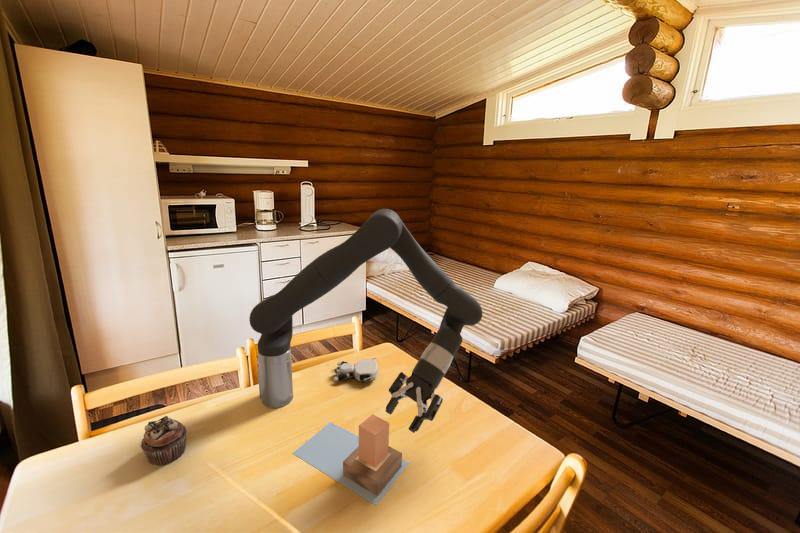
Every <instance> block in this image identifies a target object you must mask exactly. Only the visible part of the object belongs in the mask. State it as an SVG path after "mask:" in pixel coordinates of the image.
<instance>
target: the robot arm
mask: <svg viewBox="0 0 800 533" xmlns="http://www.w3.org/2000/svg"><path fill="white" fill-rule="evenodd" d="M389 249H391V250H392V251H393V252H395V254H396V255H398V256H399V258H400V259H401V260H402V261H403V262H404V265H406V267H407V268H408V269H409V271H410V272H411V274H412V275H413V278H414V279H415V280H416V281H417V283H418V284H419V286H421V287H422V288H423V289H424V291H425V292H426V293H427V294H428V295H429V296H430V297H431V298H432V299H433V300H434V301H435V302H437V303H438V304H441V305H444V306H445V307H446V309H445V311H444V313H443V317H442V319H441V322H440V325H439V328H438V330H437V332H436V333H435V334H434V336H433V338H432V340H431V341H430V343H429V344H428V345H427V347H426V348H425V349H424V351H423V352H422V354H421V356H420V358H419V359H418V361H417V363H416V364H415V365H414V368H413V369H412V371H411V374H410V376H408V375H406V374H405V373H404V372H402V371H401V372H400V373H398V375H397V376H396V378H395V379H394V381H393V382H392V384H391V386H390V387H389V388H388V392H389V393H390V395H391V398H390V400H389V401H388V403H387V405H386V406H385V412H386V413H387V414H389V415H390V416H391V415H392V414H393V413H394V411H395V409H396V407H397V406H398V404H399V403H400V402H399V401H401V400H403V399H404V398H405V399H406V398H409V399H410V400H412V401H414V402H416V406H417V414H416V415H414V418H413V420H412V422H411V423H410V425H409V426H408V430H409V431H410V432H412V433H413V434H415V433H416V432H418V431H419V429H420V428H421V426H422V424H423V422H424V421H425V420H427V421H430V422H432V421H433V420H434V419H435V417H436V415H437V413H438V411H439V409H440V407H441V406H442V404H443V401H444V399H443V397H441V395H439V394H437V393H436V394H435V391H436V389H437V388H438V387H439V385H440V384H441V382H442V380H443V378H444V376H446V373H447V372H448V371H449V368H450V366H451V364H452V361H453V359H454V357H455V356H456V354H457V352H458V350H459V349H460V348H461V345H462V344H463V336H462V335H461V333H462V331H463V329H464V326H470V327H472V326H475V325H477V324H479V323H480V322H481V320H482V319H483V318H482V317H483V309H482V306H481V304H480V302H478V300H477V299H476V298H475V297H473V295H471V294H470V293H468V292H467V291H466V290H465V289H463V288H461V287H460V286H459V285H457V284H456V283H455V282H454V281H453V279H451V277H449V275H448V274H447V273H446V272H445V271H444V270H443V269H442V268H441V267H440V265H438V263H436V262H435V261H434V260H433V259H432V257H431V256H429V254H428V253H427V252H426V251H425V250H424V249H423V248H422V247H421V245H420V244H419V243H418V241H417V240H416V239H415V238H414V236H413V235H412V233H411V232H410V231H409V229H408V228H407V227H406V225H405V223H404V222H403V220H402V219H401V218H400V216H399V215H398V213H396V212H395V211H394V210H393V209H389V208H380V209H377V210H376V211H375V212H373V213H372V214H371V215H370V216H368V218H367V220H366V221H365V222H364V223H363V224H362V225H361V226H360V227H359V228H358V229H357V230H356V231H355V232H354V233H353V234H352V235H350V237H349V238H347V239H346V240H345V241H343V242H342V243H340V244H339V245H337V246H334V247H332V248H330V249H329V250H327V251H325V252H323V253H322V254H321V255H319V256H317V257H316V258H315V259H313V260H312V261H311V262H310V263H309V264H308V265H306V266H305V267H304V268H303V269H301V271H299V272H298V273H297V274H296V275H295V276H294V277H293V278H292V279H291V280H290V281H288V283H287V284H286V285H285V286H284V287H283V288H282V289H281V290H280V291H278V292H277V293H275V294H272V295H270V296H268V297H266V298H264V299H263V300H262V301H259V302H258V303H257V304H256V305H254V307H253V308H252V310H251V312H250V314H249V318H248V319H249V324H250V327H251V328H252V330H254V332H256V333H259V334H261V335H260V337H259V339H258V341H257V353H258V354H257V357H258V367H259V370H258V371H257V376H258V378H257V379H258V388H259V398H260V400H261V403H262V405H263V406H265V407H266V408H271V409H277V408H281V407H284V406H287V405H288V404H290V403H291V401H292V400H293V398H294V388H293V386H294V385H293V367H292V353H291V352H292V351H291V347H292V346H291V342H292V338H293V331H294V330H293V329H294V328H293V326H294V325H293V316H294V314H296V313H297V312H299V311H300V310H302V309H304V308H305V307H307V306H309V305H311V304H312V303H314V302H316V301H317V300H319V299H321V298H322V297H324V296H325V295H326V294H328V293H329V292H331V291H332V290H333V289H335V288H336V287H338V286H339V285H340V284H341V283H343V282H344V281H345V280H346V279H348V278H349V276H351V275H353V273H354V272H355V271H356V270H358V269H359V268H360V266H362V265H363V264H364V263H367V262H368V261H369V260H371V259H372V258H374V257H376V256H378V255H379V254H381V253H383V252H385V251H386V250H389ZM404 384H405V385H404ZM429 400H430V404H429V405H428V401H429Z"/></svg>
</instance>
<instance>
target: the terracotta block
mask: <svg viewBox="0 0 800 533" xmlns="http://www.w3.org/2000/svg"><path fill="white" fill-rule="evenodd" d="M358 436H359V458H360V459H361V460H363V461H365V462H366V463H368V464H369V465H371V466H372V467H374V468H376V467H377V466H378V465H379V464H380V463H381V461H382V460H383V459H384V458H385V457H386V456H387V455H388V446H389V445H390V444H389V443H390V442H389V440H390V422H388V421H386V420H384V419H382V418H381V417H379V416H378V415H375V414H374V413H372V414H371V415H369V416H368V417H367V418H365V420H364V421H362V422H361V423H360V424H359V425H358ZM389 447H390V446H389Z"/></svg>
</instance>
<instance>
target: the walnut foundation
mask: <svg viewBox="0 0 800 533" xmlns="http://www.w3.org/2000/svg"><path fill="white" fill-rule="evenodd" d="M402 459H403V452H402V451H399V450H397V449H395V448H394V447H391V446H388V455H387V456H386V457H385V458H384V459H383V460H382V461H381V463H380V464H379V465H378V466H377V467H376V468H374V467H372V466H371V465H369V464H368V463H366V462H365V461H363V460H361V459H360V458H359V446H358V447H357V448H356V449H355V450H354V451H353V452H352V453H351V454H350V455H349V456H348V457H347V458H346V459H345V460H344V461H343V476H345V477H347V478H348V479H350V480H351V481H353V482H355V483H356V484H358V485H360V486H361V487H363V488H365V489H366V490H368V491H370V492H371V493H373V494H375V495H376V496H379V494H380V493H381V492H382V490H383V489H384V488H385V487H386V485H387V484H388V483H389V482H390V480H391V479H392V478H393V477H394V475H395V474H396V473H397V472H398V470H399V469H400V468H401V466H402Z"/></svg>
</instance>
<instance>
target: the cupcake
mask: <svg viewBox="0 0 800 533" xmlns="http://www.w3.org/2000/svg"><path fill="white" fill-rule="evenodd" d="M187 433H188V431H187V428H186V427H185V425H184V424H183V423H181V422H180V421H178V420H176V419H173V418H171V417H169V416H167V415H166V416H163V417H161V418H159V419H158V420H152V421H148V424H146V425H145V426H144V434H143V438H142V440H141V442H140V443H141V444H140V448H141V450H142V451H143V453H144V454H145V456H146V459H147V461H148V462H149V463H150V464H151V465H153V466H157V467H160V466H166V465H169V464H171V463H173V462H174V461H177V460H178V459H180V458H181V457H182V456H183V454H185V451H186V447H187V446H186V444H187V443H186V442H187V435H188V434H187Z"/></svg>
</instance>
